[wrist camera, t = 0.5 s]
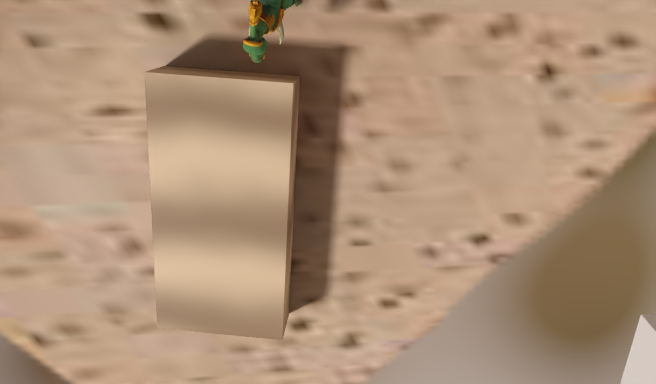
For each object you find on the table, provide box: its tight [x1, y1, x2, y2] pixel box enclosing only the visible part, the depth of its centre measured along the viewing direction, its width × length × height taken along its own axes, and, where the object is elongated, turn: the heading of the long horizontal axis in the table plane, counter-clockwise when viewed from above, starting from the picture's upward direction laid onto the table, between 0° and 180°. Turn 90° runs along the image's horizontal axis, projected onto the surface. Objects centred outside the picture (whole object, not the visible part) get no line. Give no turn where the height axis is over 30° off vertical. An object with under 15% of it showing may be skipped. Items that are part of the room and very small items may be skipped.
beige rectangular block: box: [145, 66, 300, 340], centre depth 32 cm, size 16×8×3 cm, turn 176°
